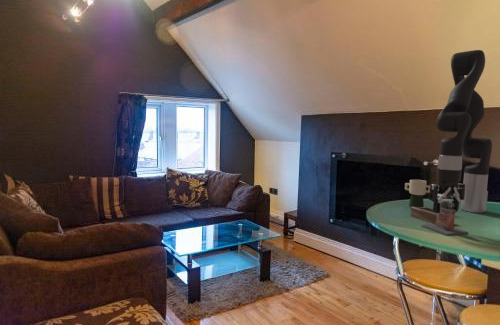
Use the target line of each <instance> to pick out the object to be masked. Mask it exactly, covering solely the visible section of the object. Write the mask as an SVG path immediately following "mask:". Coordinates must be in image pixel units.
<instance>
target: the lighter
mask: <svg viewBox="0 0 500 325" xmlns="http://www.w3.org/2000/svg"><path fill="white" fill-rule="evenodd" d="M440 203H441V206H440V213H437V219H436V223H435V226H437V227H439V228H441V229H443V230H446V231H454V227H455V216H456V213H457V212H456V210H454V209H451V208H452V207H454V204H453V203H452V202H450V201H449V200H442V201H441V202H440Z"/></svg>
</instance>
